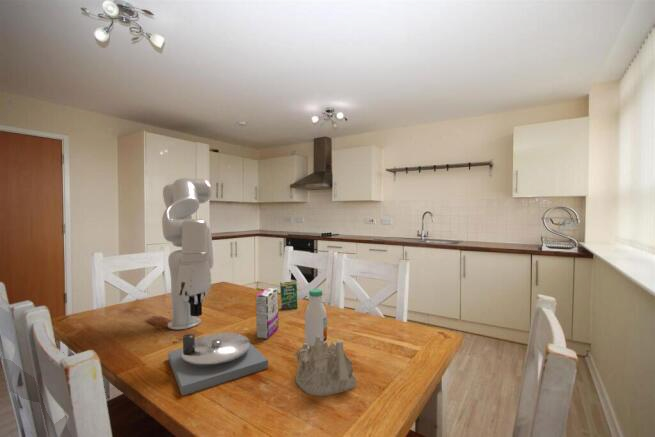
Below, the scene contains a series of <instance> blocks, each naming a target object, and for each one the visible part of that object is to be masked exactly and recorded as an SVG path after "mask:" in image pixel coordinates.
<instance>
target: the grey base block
mask: <svg viewBox="0 0 655 437" xmlns="http://www.w3.org/2000/svg"><path fill="white" fill-rule="evenodd" d="M182 348H183V347H182ZM182 348H178V349H173V350H169V351H168V352H167V354H168V363H169V364H170V367H171V369H172V371H173V376H174V377H175V381H176V383H177V386H178V388H179V391H180V394H181V396H182V397H183V396H186V395H189V394H193V393H196V392H198V391H202V390H205V389H208V388H211V387H214V386H218V385H219V384H224V383H227V382H229V381H232V380H235V379H239V378H242V377H245V376H249V375H251V374H255V373H257V372H261V371H264V370H266V369H269V360H268V359H267V357H265V356H264V355H263V353H262V352H260V351H259V350H258V349H257V348H256V347H255V346H254V345H253V344H252V343H251V342H250V341H249V349H248V351H247V352H246V353H245V354H243V355H242V356H240V357H239V358H236V359H234V360H232V361H229V362H226V363H222V364H217V365H207V366H200V365H192V364H189V363H186V362H185V361H183V359H182V357H181V351H182Z"/></svg>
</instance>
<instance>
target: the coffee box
mask: <svg viewBox="0 0 655 437" xmlns="http://www.w3.org/2000/svg"><path fill="white" fill-rule="evenodd" d="M279 285H280V308H281V310H282V311H283V310H292V309H293V310H294V309H298V288H297V286H298V284H297V280H294V281H293V280H292V281H280V283H279Z"/></svg>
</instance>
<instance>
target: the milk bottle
mask: <svg viewBox="0 0 655 437" xmlns="http://www.w3.org/2000/svg"><path fill="white" fill-rule="evenodd" d="M308 293H309V294H308V295H309V296H308V297H309V302H308V304H307V306H306V309H305V313H304V343H307V345H308V346H309V347H310V345H314V344H315V340H316V336H320V339H322V340H323V342H326V341H327V342H328V325H327V324H328V323H327V321H328V318H327V317H328V316H327V310H326V309H327V308H325V305H324V303H323V300H322V297H323V290H322V289H320V288H319V289H318V288H312V289H310V290H309V292H308Z"/></svg>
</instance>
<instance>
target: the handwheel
mask: <svg viewBox="0 0 655 437" xmlns="http://www.w3.org/2000/svg"><path fill="white" fill-rule="evenodd" d="M249 342H250V339H249V338H248V337H247V336H245V335H243V334H241V333H235V332H220V333H219V332H217V333H213V334H212V333H211V334H207V335H204V336H201V337H197V338H196V336H195V334H194V333H187V334H184V335H183V336H182V351H181V357H182V359H183V361H185V362H186V363H189V364H192V365H200V366H207V365H217V364H222V363H226V362H229V361H232V360H234V359H236V358H239V357H240V356H242V355H243V354H245V353H246V352H247V351H248V349H249Z"/></svg>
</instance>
